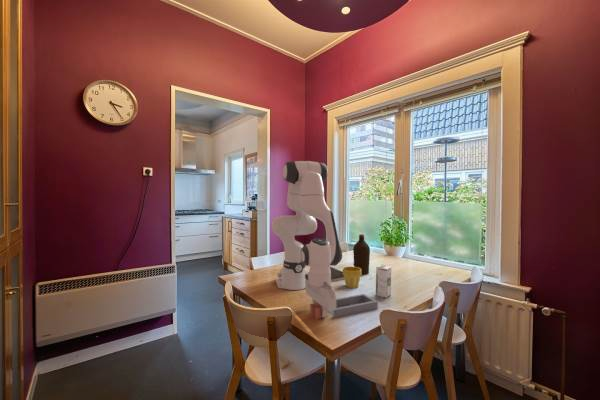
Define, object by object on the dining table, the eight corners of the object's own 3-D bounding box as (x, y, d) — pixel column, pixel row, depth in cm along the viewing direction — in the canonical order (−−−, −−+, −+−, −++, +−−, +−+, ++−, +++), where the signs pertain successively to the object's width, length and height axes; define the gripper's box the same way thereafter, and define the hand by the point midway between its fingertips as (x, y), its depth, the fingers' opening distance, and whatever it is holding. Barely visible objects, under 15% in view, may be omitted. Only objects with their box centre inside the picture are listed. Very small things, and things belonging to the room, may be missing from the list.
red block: (320, 313, 105) (310, 316, 103) (320, 301, 105) (310, 304, 103) (327, 318, 101) (316, 321, 98) (327, 306, 101) (316, 308, 98)
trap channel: (323, 310, 108) (323, 301, 108) (363, 302, 117) (363, 293, 117) (335, 320, 100) (335, 309, 100) (377, 310, 108) (377, 301, 108)
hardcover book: (329, 269, 173) (329, 266, 173) (351, 279, 153) (351, 275, 153) (309, 272, 166) (309, 269, 166) (329, 283, 145) (329, 279, 145)
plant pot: (339, 283, 142) (339, 266, 142) (356, 282, 145) (356, 265, 145) (347, 290, 132) (347, 271, 132) (365, 288, 135) (365, 270, 135)
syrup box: (379, 292, 130) (380, 264, 130) (391, 295, 126) (391, 266, 126) (375, 295, 125) (375, 266, 125) (387, 298, 122) (387, 268, 122)
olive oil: (373, 273, 163) (373, 234, 163) (362, 276, 157) (362, 236, 157) (360, 269, 172) (360, 233, 172) (349, 272, 165) (350, 234, 165)
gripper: (340, 286, 94) (340, 323, 94) (315, 271, 113) (315, 302, 113) (325, 288, 91) (325, 326, 91) (302, 273, 110) (302, 304, 110)
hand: (319, 313), depth 102 cm, fingers closed on red block, 5 cm apart
